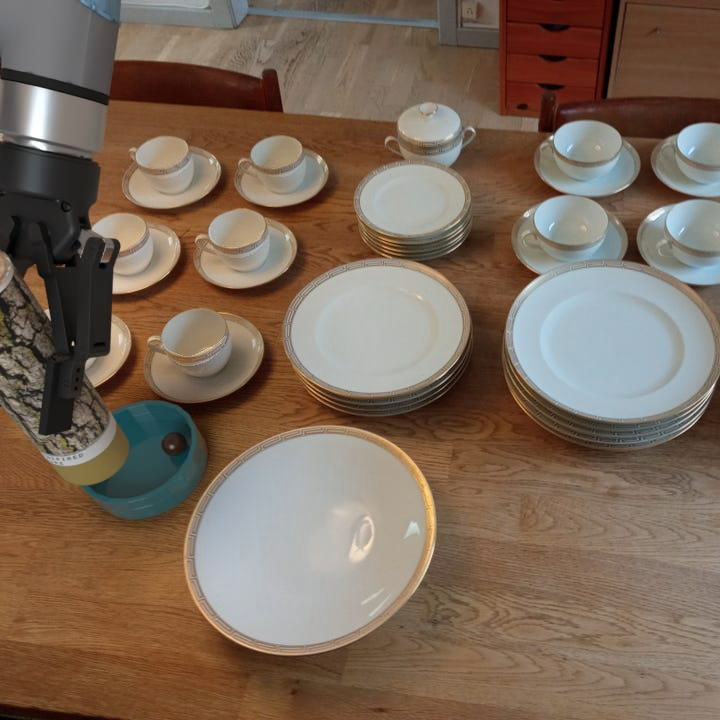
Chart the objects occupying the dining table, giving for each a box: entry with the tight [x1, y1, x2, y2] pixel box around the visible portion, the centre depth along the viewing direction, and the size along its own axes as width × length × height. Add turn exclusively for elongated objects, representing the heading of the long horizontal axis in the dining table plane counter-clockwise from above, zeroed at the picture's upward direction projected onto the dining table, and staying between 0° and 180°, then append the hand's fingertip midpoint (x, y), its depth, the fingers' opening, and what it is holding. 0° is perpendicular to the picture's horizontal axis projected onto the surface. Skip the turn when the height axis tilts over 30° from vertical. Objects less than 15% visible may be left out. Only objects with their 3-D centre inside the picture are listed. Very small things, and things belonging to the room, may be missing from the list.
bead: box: [161, 432, 187, 456], centre depth 91 cm, size 3×3×3 cm
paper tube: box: [0, 250, 129, 486], centre depth 64 cm, size 7×7×25 cm
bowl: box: [79, 400, 209, 520], centre depth 90 cm, size 14×14×4 cm
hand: (19, 419), depth 63 cm, fingers closed on paper tube, 7 cm apart
